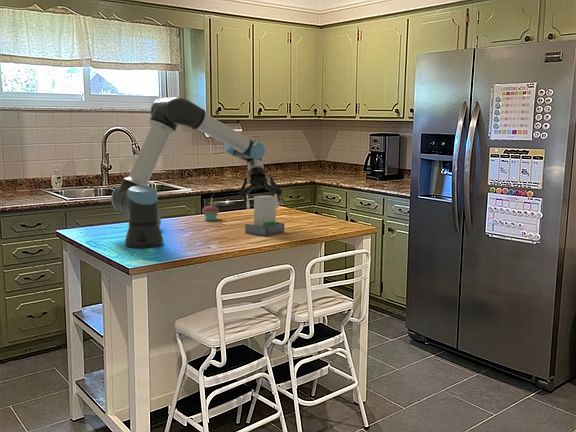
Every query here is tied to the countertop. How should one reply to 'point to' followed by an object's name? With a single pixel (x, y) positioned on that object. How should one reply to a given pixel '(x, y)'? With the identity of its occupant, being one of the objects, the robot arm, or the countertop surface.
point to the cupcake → (210, 212)
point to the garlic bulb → (159, 220)
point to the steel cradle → (264, 229)
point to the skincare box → (265, 210)
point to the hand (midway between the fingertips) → (263, 207)
